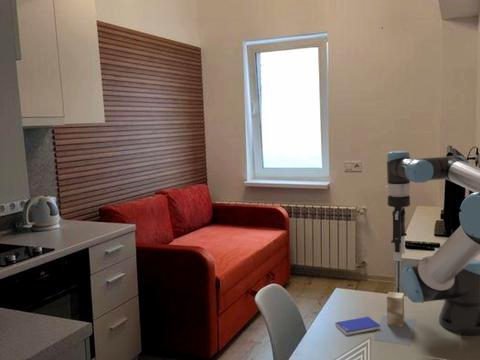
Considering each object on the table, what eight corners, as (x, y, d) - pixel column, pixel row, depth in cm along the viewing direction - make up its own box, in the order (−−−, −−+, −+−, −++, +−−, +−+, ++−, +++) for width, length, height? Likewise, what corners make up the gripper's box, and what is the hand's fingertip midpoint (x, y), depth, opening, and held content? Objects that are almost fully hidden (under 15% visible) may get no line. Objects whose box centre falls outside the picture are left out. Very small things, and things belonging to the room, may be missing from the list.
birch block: (404, 320, 163) (404, 293, 162) (402, 327, 158) (402, 298, 157) (389, 318, 165) (388, 291, 164) (387, 325, 160) (386, 296, 159)
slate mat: (415, 320, 163) (415, 319, 163) (409, 346, 145) (409, 345, 145) (382, 316, 168) (382, 315, 168) (373, 341, 150) (373, 339, 150)
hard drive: (346, 331, 154) (380, 324, 157) (335, 321, 162) (367, 315, 165) (346, 335, 154) (380, 329, 157) (335, 326, 162) (367, 320, 165)
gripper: (391, 190, 178) (392, 248, 181) (383, 199, 159) (384, 264, 162) (412, 190, 175) (413, 249, 178) (406, 200, 156) (407, 266, 159)
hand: (399, 256), depth 170 cm, fingers open, 8 cm apart
